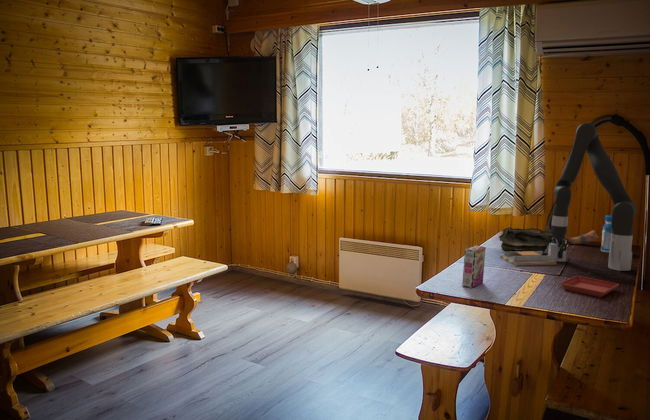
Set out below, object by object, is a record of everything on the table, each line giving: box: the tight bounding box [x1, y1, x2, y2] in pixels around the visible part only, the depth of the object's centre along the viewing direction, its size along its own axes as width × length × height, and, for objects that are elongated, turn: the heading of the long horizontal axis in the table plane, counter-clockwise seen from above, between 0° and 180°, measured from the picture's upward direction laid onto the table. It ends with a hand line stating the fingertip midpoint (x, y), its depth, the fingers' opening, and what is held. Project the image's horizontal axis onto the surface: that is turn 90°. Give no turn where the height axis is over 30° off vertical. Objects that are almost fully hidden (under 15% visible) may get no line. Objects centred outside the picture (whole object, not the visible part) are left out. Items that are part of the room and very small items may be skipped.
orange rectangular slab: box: [517, 251, 540, 256], centre depth 284 cm, size 7×9×1 cm
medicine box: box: [547, 242, 568, 263], centre depth 286 cm, size 8×4×9 cm, turn 84°
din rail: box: [503, 250, 553, 261], centre depth 284 cm, size 11×21×2 cm, turn 99°
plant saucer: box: [560, 275, 620, 298], centre depth 237 cm, size 18×18×3 cm
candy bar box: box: [461, 245, 486, 289], centre depth 240 cm, size 11×5×16 cm, turn 141°
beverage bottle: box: [600, 214, 612, 253], centre depth 309 cm, size 8×8×20 cm
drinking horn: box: [545, 225, 599, 245], centre depth 327 cm, size 5×29×10 cm, turn 78°
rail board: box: [499, 254, 558, 267], centre depth 284 cm, size 16×22×2 cm
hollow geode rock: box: [498, 227, 552, 255], centre depth 306 cm, size 28×13×15 cm
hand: (556, 256), depth 287 cm, fingers closed on medicine box, 5 cm apart
